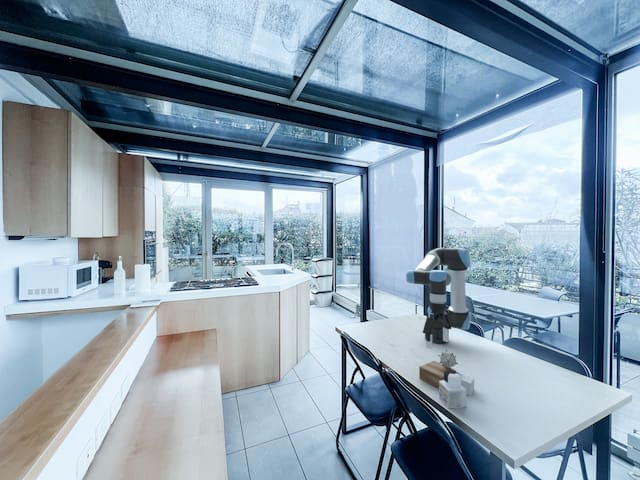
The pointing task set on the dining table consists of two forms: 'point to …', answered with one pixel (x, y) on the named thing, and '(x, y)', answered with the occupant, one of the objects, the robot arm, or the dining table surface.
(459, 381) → the container
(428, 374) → the base block
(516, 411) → the dining table surface
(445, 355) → the grey spiky ball
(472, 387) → the grey block
